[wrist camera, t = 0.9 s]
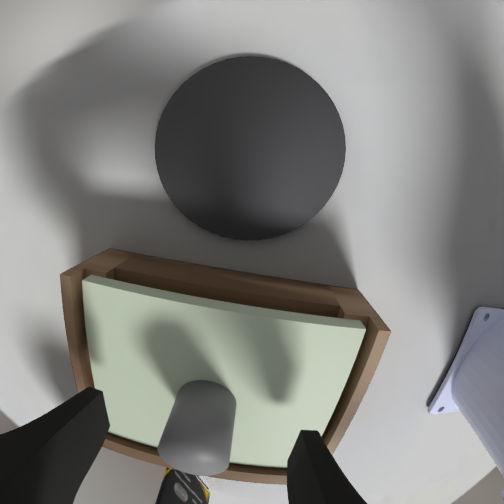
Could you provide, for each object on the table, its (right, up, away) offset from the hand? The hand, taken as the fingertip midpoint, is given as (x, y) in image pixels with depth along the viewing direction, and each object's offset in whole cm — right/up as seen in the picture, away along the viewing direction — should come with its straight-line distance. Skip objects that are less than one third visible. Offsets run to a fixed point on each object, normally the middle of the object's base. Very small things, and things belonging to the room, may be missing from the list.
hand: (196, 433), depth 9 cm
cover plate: (0, +1, +2) cm, 3 cm away
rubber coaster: (+2, +11, +3) cm, 11 cm away
